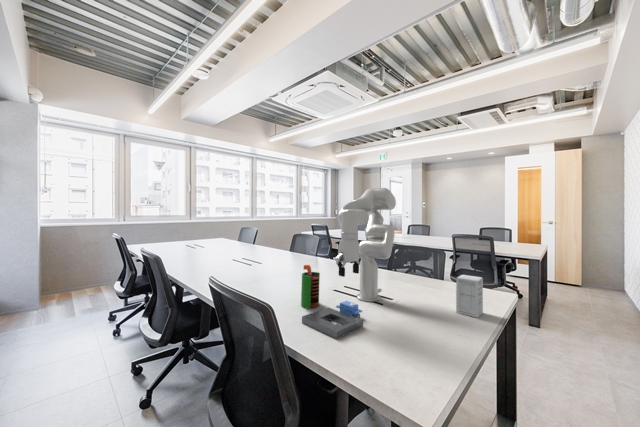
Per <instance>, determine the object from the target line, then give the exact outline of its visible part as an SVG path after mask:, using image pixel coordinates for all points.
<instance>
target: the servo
mask: <svg viewBox="0 0 640 427" xmlns="http://www.w3.org/2000/svg"><path fill="white" fill-rule="evenodd" d="M335 308H337V309H339V312H342V313H345V314H348V315H350V316H353V317H356V318H358V319H361V313H362V312H363V310H362V309H360V308H359V304H357V303H355V302H351V301H349V300H344V301H341V302H339V304H337V305H336V306H335Z"/></svg>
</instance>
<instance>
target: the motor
mask: <svg viewBox="0 0 640 427" xmlns="http://www.w3.org/2000/svg"><path fill="white" fill-rule="evenodd" d="M303 270H306V272H302V273H301V291H300V292H301V294H300V296H301V297H300V298H301V299H300V307H302V308H304V309H312V308H313V309H315V308H318V307H320V274H321V273H320V272H318V271H312V268H311V265H309V264H304V265H303Z"/></svg>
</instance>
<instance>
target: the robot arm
mask: <svg viewBox="0 0 640 427" xmlns="http://www.w3.org/2000/svg"><path fill="white" fill-rule="evenodd" d="M396 205H397V201H396V197H395V196H394V194H393V192H392V191H391V190H390V189H388V188H386V187H371V188H368V189H366V190H365V191H364V192H363V193H362V195H361V196H360V197H359V198H357V199H354V200H352V201H350V202H347V203H346V204H345V205H343V207H342V208H341V209H340V211H339V212H338V218H337V219H338V222H339V223H340V224H341V226H340V228H341V229H340V230H341V232H340V233H341V234H340V240H339V244H338V248H337V249H338V250H337V256H335V258H334V260H335V263H336V265H337V268H338V276H339V277H345V276H346V267H345V265H346V264H348V263H352V273H353V274H359V293H358V294H357V295H356V298H357V299H358V300H360V301H363V302H367V303H368V302H372V303H373V302H378V301H380V300H381V295H380V294H379V293H381V292H382V291H383V290H382V289H381V288H379V287H378V280H379V278H378V276H379V266H378V263H377V261H376V260H375V259H377V260H378V259H380V260H388V259H390V257H391V255H392V250H393V246H394V240H395V228H394V226H393V225H391V224H385V223H384V217H383V215H382V214H381V213H380V212H379V211H391V210H394V209H395V207H396ZM378 210H379V211H378ZM366 224H367V225H366ZM365 225H366V228H365V231H364V232H365V234H364V236H365V239H364V240H361V241H360V242H359V226H365Z"/></svg>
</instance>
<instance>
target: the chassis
mask: <svg viewBox="0 0 640 427" xmlns="http://www.w3.org/2000/svg"><path fill="white" fill-rule="evenodd" d="M330 321H334V322H336V323H333V322H330ZM301 323H302V324H304V325H305V326H308V327H310V328H312V329H314V330H316V331H318V332H321V333H323V334H325V335H327V336H330V337H331V338H333V339H336V340H337V339H341V338H342V337H344V336H347V335H349V334H351V333H354V332H355V331H357V330H359V329H363V328H364V319H361V318H360V319H358V318H356V317H353V316H350V315H348V314H345V313H342V312H340V310H337V309H334V308H330V307H326V308H324V309H320V310H317V311H315V312H312V313H308V314H306V315H302V316H301Z"/></svg>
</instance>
